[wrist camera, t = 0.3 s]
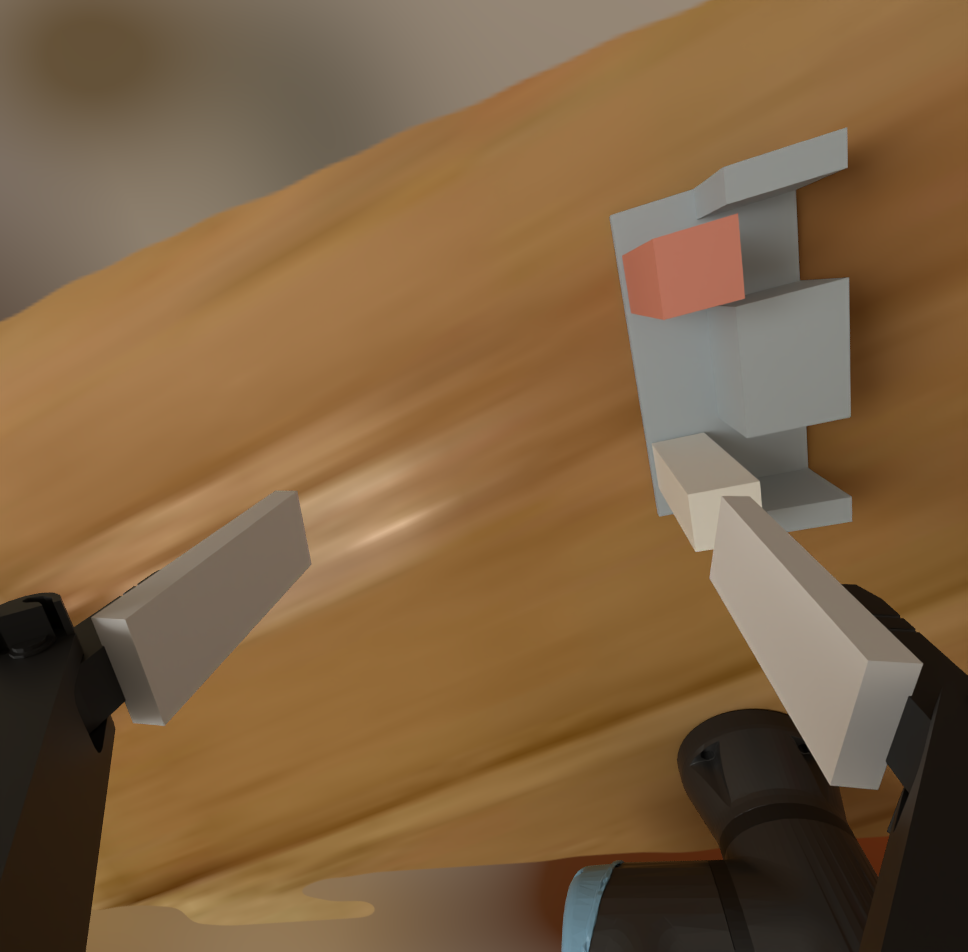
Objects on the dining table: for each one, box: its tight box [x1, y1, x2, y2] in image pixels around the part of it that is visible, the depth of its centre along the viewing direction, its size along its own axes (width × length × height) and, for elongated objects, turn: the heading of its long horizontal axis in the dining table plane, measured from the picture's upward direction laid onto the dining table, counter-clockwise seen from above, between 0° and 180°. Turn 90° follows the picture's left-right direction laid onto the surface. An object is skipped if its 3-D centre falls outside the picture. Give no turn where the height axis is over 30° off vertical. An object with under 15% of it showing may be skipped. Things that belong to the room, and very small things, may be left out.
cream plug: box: [652, 432, 762, 552], centre depth 34 cm, size 4×4×11 cm
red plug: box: [622, 213, 745, 320], centre depth 30 cm, size 4×4×11 cm
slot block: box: [610, 128, 852, 532], centre depth 34 cm, size 25×12×7 cm, turn 15°
